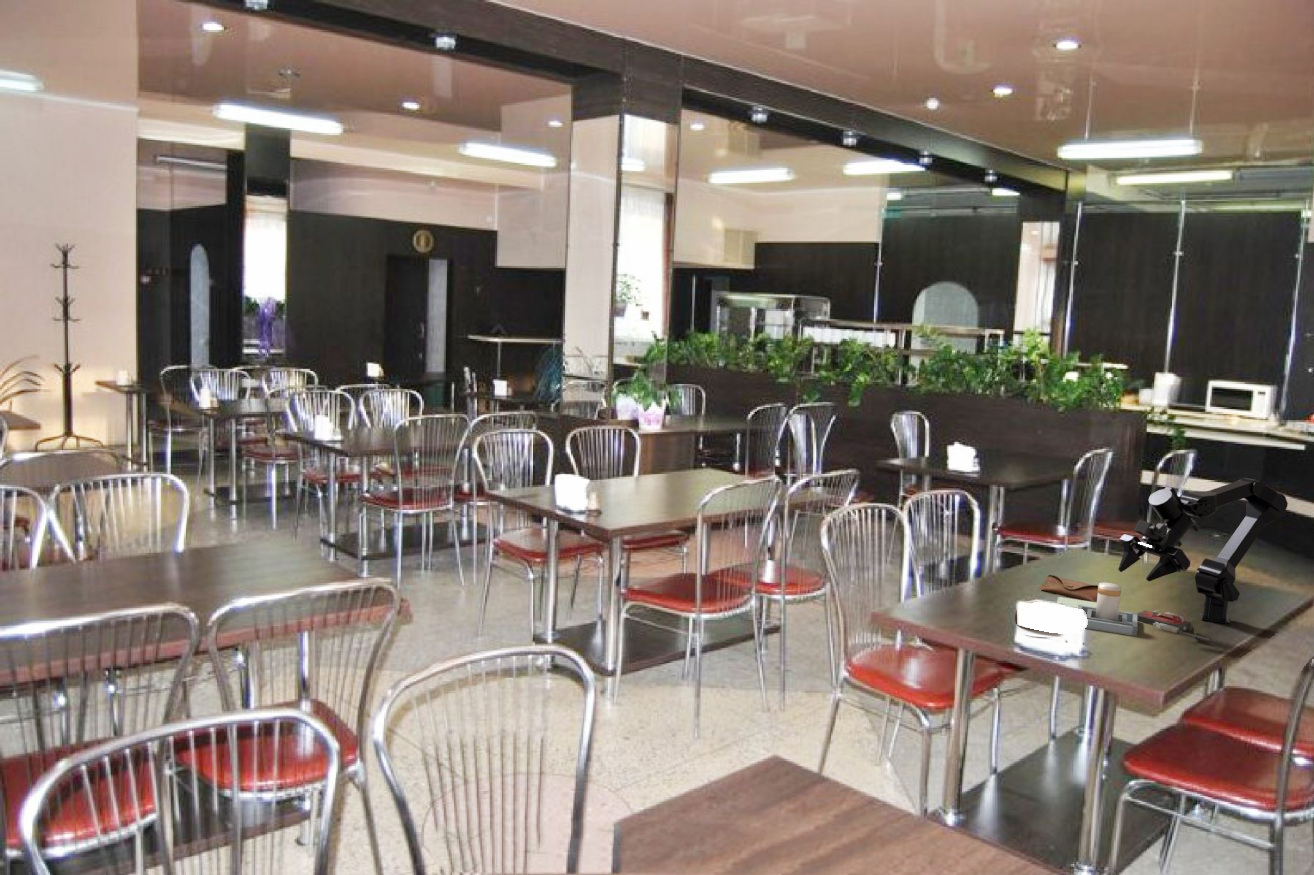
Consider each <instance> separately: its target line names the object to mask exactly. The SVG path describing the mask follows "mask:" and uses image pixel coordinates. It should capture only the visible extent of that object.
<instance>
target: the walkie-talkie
mask: <svg viewBox="0 0 1314 875" xmlns="http://www.w3.org/2000/svg"><path fill="white" fill-rule="evenodd" d="M1136 614H1137V622H1140V623H1144V624H1149V625H1151V626H1153V627H1156V628H1158V629H1159V630H1163V631H1168V632H1170V633H1176V634H1180V635H1184V636H1188V637H1190V638H1191V637H1192V638H1194V639H1195V640H1197V641H1203V642H1208V643H1211V642H1212V639H1211V638H1208V637H1206V636H1205V637H1204V636H1202V635H1201V636H1200V635H1198V634H1192V633H1189V632H1185V631H1192V630H1194V625H1193V624H1192V622H1191V621H1190V620H1186V619H1185V617H1184V616H1183V615H1180V614H1178V613H1177V614H1176V613H1173V612H1169V611H1166V612H1164V613H1160V612H1159V613H1158V610H1152V611H1151V610H1150V611H1149V610H1143V611H1140V612H1138V613H1136Z"/></svg>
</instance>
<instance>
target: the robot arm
mask: <svg viewBox="0 0 1314 875" xmlns="http://www.w3.org/2000/svg"><path fill="white" fill-rule="evenodd" d="M1243 499H1244V500H1245V501H1247V502H1246V505H1245V506H1246V507H1245V508H1246V509H1245V510H1246V512H1245V513H1246V515H1245V517H1244V518H1243V519H1242V521H1241V523H1240V524H1239V526H1238V527H1237V528H1236V530H1235V531H1234V532H1233V534H1232V535H1231V536H1230V538H1229V539H1228V541H1227V542H1226V544H1225V545H1224V547H1223V548H1222V549H1221V551H1220V552H1219V554H1218V555H1217V556H1216V557H1215V558H1213V559H1211V558H1204V559H1203V560H1202V563H1201V564H1200V566H1199V567H1197V568H1196V573H1195V576H1194V580H1195V586H1196V591H1197V594H1202V595H1204V599H1203V609H1202V610H1203V611H1202V612H1199V616H1200V619H1201V620H1202V621H1205V622H1206V621H1208V622H1215V623H1220V624H1228V625H1229V624H1231V623H1230V622H1231V621H1230V619H1229V616H1228V612H1229V606H1230V605H1229V604H1230V602H1231V603H1232V602H1233V603H1234V602H1236V601H1238V600H1239V597H1240V591H1239V590H1238V589H1237V587H1236V586H1235V585H1234V583H1235V581H1236V568H1237V567H1238V565H1239V563H1240V562H1241V561H1242V559H1243V558H1244V557H1245V555H1246V553H1247V552H1248V550H1250V548H1251V546H1252V545H1253V544H1254V542H1255V541H1256V540H1257V539H1258V537H1259V534H1261V533H1262V530H1263V529H1264V528H1265V527H1266V526H1267V525H1270V523H1272V522H1275V521H1277V520H1278V519H1279V518H1280V517H1281V516H1282V515H1283V513H1285V511H1286V510H1287V508H1288V504H1289V502H1288V501H1287V497H1286V495H1284V494H1283V493H1280V492H1278V491H1276V490H1274V489H1272V488H1270V487H1268V486H1267V485H1265V484H1264V483H1263V482H1261V481H1260V480H1257V479H1254V478H1247V477H1243V478H1240V479H1238V480H1237V481H1234V482H1229V483H1228V484H1225V485H1221V486H1219V487H1216V488H1213V489H1209V490H1206V491H1205V490H1204V491H1202V490H1200V491H1199V490H1197V491H1196V490H1195V491H1187V492H1184V493H1182V494H1180V496H1179V494H1178V493H1177V492H1176V490H1175V488H1174V487H1173V486H1167V485H1166V486H1165V487H1164V488H1163V489H1159V490H1157V491H1155V492H1153V493H1151V494H1150V496H1149V497H1148V503H1149V505H1150V506H1151V507H1152V509H1153V510H1154V511H1155V512H1156V514H1157V516H1158V517H1159V519H1161V520H1164V522H1162V523H1160V522H1158V523H1157V524H1154V523H1151V522H1148V521H1144V520H1138V522H1137V524H1136V527H1135V528H1134V533H1138V534H1139V535H1141V536H1142V537H1141V539H1142V540H1143V541H1144V542H1146V543H1143V542H1142V541H1141V539H1140V538H1139V536H1137V535H1133V534H1130V533H1124V534H1123V535H1121V537H1119V542H1120V543H1121V546H1122V547H1123V553H1122V554H1123V555H1122V558H1121V561H1120V564H1119V566H1118V569H1117V570H1118V571H1119V572H1120V573H1123V572H1124V571H1126V570H1127V569H1128V568H1130V567H1131V566H1133V565H1134V564H1135V563H1137V562H1138V561H1139V560H1141V557H1143V556H1144V555H1145V553H1147V554H1150V555H1153V556H1156V557H1158V558H1159V559H1158V562H1157V563H1156V564H1155V565H1154V567H1153V568H1152V570H1150V572H1149V573H1148V575H1147V576H1146V577H1145V578H1146V581H1147V582H1152V581H1155V580H1157V579H1160V578H1162V577H1164V576H1165V577H1166V576H1167V575H1171V574H1174V573H1180V572H1181V571H1182V572H1186V571H1187V570H1188V569H1189V568H1190V566H1191V560H1190V558H1189V557H1188V556H1187V554H1186V553H1185V551H1184V550H1183V549H1181V548H1180V547H1181V546H1182V545H1183V543H1182V541H1181V540H1182V539H1183V538H1184V537H1185V536H1186V535H1187V533H1188V532H1189V531H1191V532H1195V533H1198V531H1199V526H1198V521H1197V520H1194V519H1193V518H1192V517H1196V518H1200V519H1206V518H1208V517H1209V516H1211V515H1213V514H1215V513H1216V512H1217V511H1218V508H1220V507H1222V506H1226V505H1228V504H1231V503H1234V502H1237V501H1239V500H1240V501H1241V500H1243ZM1178 547H1179V548H1178Z"/></svg>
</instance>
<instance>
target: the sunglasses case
mask: <svg viewBox="0 0 1314 875" xmlns="http://www.w3.org/2000/svg"><path fill="white" fill-rule="evenodd" d="M1098 586H1099V584H1098V585H1096V584H1089V583H1086V582H1081V581H1077V580H1073V579H1068V578H1064V577H1060V576H1056V575H1052V574H1049V575H1048V576H1047V578H1046V579H1045V580H1044V582H1043V583H1042V585H1041V586H1040V588H1038V590H1041V591H1040V592H1042V591H1043V593H1048V594H1053V595H1056V596H1057V595H1058V596H1060V597H1065V598H1070V599H1077V600H1083V601H1090V602H1097V596H1098Z"/></svg>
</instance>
